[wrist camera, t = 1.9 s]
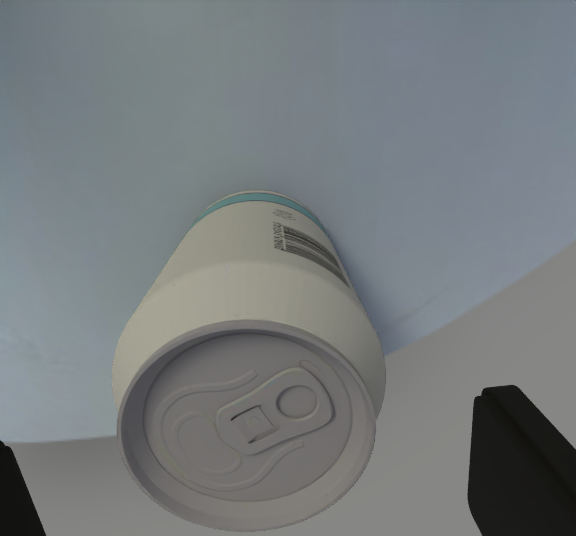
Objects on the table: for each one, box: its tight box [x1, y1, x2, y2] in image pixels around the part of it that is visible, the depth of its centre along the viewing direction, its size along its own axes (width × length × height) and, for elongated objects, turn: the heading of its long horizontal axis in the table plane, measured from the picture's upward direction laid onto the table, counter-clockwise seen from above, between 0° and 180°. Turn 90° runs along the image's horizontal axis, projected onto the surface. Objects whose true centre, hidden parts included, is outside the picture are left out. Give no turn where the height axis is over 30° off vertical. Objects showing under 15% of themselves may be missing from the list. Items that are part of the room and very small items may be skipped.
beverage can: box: [112, 190, 386, 532], centre depth 15 cm, size 7×7×12 cm
